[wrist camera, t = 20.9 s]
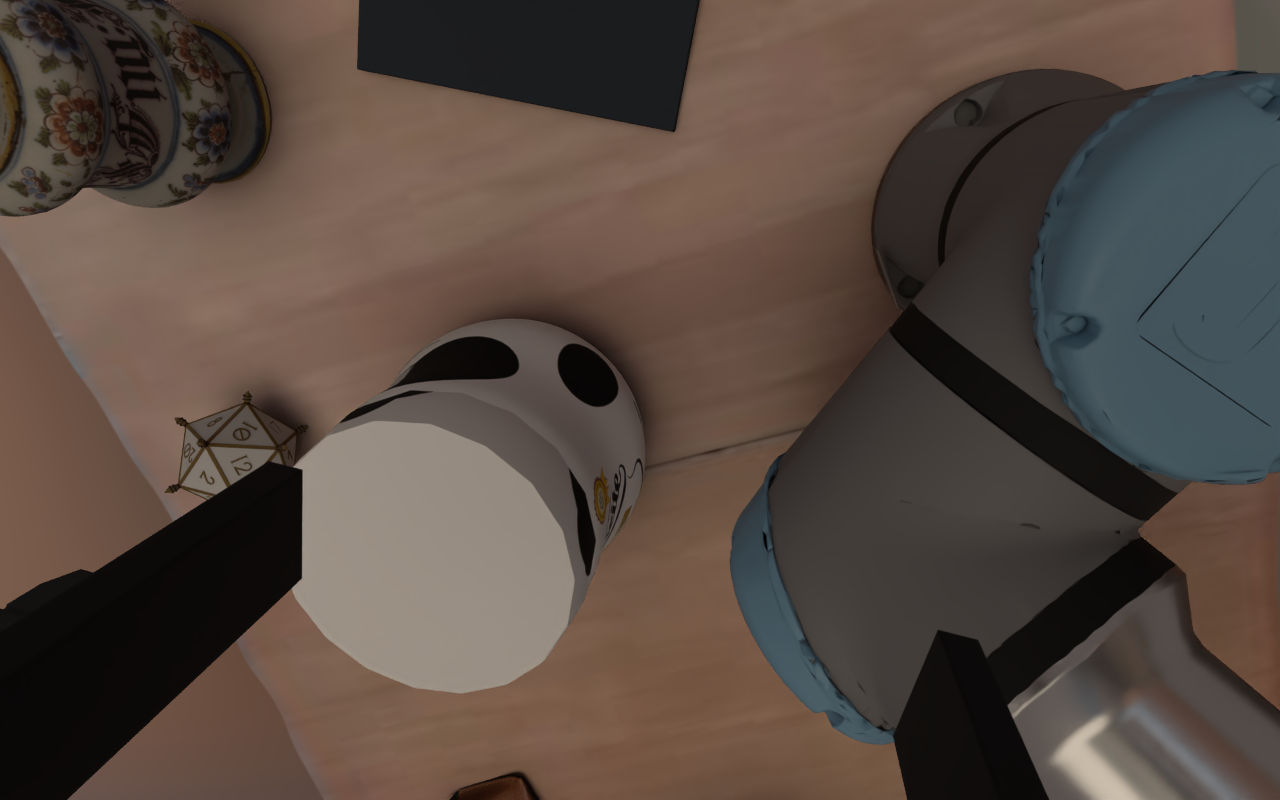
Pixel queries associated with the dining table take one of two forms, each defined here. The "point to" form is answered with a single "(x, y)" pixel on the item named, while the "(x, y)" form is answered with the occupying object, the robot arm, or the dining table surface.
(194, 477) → the game die
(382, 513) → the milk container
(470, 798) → the sunglasses case
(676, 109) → the mat
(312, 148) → the dining table surface
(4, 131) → the apothecary jar
